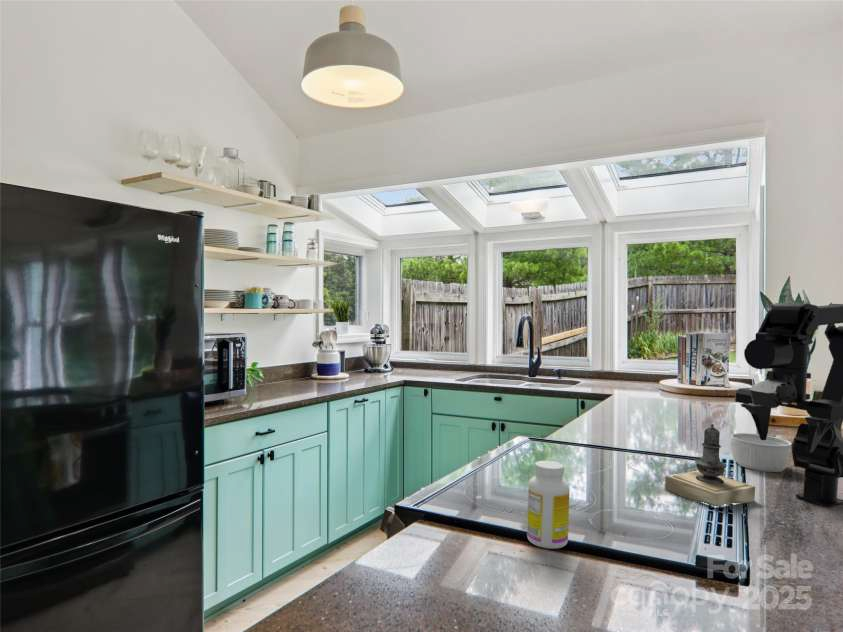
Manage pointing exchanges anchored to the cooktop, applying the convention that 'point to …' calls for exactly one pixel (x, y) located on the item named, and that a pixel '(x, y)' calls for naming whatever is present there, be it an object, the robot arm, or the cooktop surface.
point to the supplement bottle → (548, 506)
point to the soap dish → (709, 489)
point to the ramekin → (760, 452)
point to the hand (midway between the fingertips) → (785, 445)
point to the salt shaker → (710, 458)
